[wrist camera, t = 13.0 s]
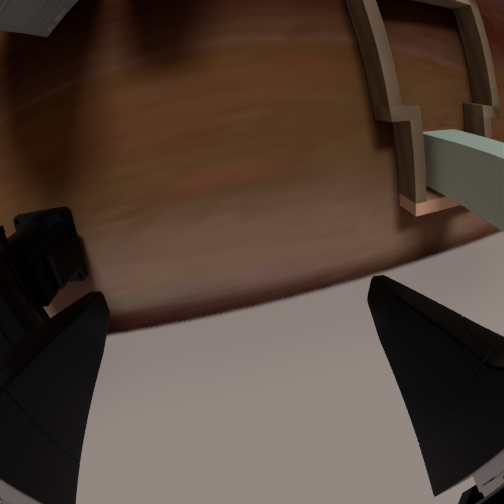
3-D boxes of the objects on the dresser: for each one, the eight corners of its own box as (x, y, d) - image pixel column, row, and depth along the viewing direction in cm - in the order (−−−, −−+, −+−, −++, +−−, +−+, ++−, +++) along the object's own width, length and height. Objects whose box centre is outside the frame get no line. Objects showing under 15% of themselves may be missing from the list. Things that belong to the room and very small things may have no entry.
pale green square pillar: (421, 183, 20) (537, 257, 9) (418, 132, 18) (550, 179, 7) (456, 176, 20) (565, 239, 9) (454, 129, 18) (575, 172, 7)
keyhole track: (383, 208, 21) (399, 220, 19) (339, -17, 12) (351, -29, 10) (482, 186, 20) (499, 195, 18) (456, 2, 12) (474, -3, 10)
